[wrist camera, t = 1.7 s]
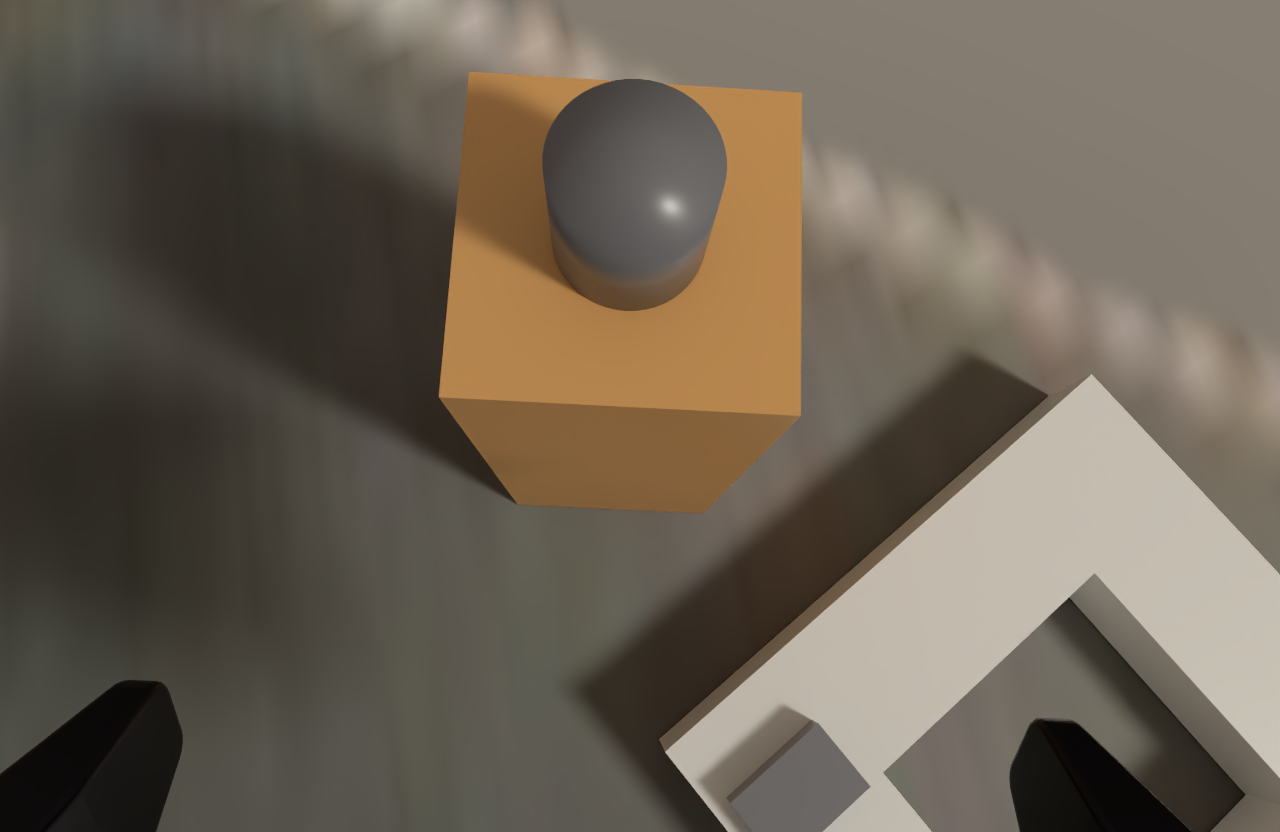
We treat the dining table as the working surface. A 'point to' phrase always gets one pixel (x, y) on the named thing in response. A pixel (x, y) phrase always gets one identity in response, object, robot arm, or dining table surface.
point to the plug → (624, 287)
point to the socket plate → (1003, 628)
